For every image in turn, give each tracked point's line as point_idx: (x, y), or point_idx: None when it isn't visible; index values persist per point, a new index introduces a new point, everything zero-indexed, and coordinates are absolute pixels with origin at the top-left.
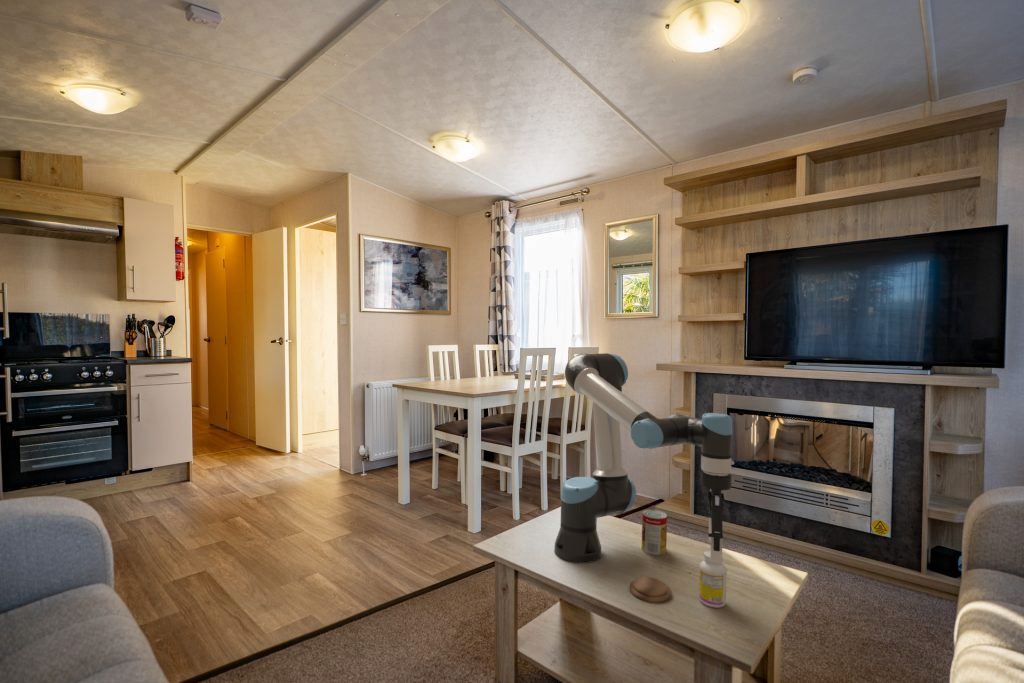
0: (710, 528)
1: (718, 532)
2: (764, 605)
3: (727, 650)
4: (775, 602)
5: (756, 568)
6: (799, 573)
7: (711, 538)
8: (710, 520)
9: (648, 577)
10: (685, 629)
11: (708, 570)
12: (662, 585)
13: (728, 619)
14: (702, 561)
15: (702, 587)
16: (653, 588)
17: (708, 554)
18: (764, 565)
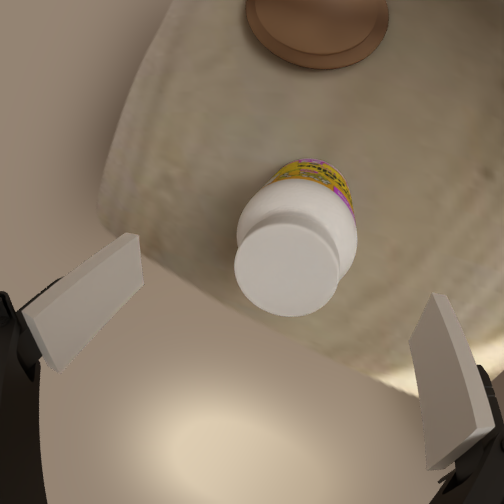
0: (452, 368)
1: (421, 388)
2: (322, 324)
3: (108, 192)
4: (340, 349)
5: (489, 353)
6: None
7: (31, 306)
8: (467, 423)
9: (374, 1)
10: (144, 107)
11: (242, 212)
12: (327, 38)
13: (224, 220)
14: (320, 202)
15: (280, 171)
16: (291, 9)
17: (278, 247)
18: (495, 368)
